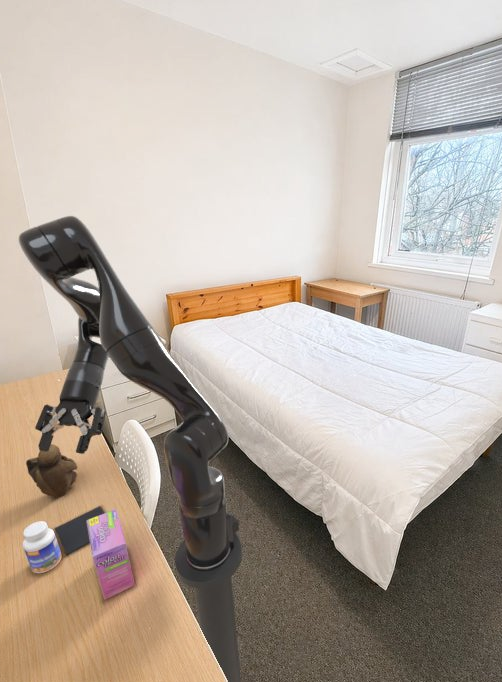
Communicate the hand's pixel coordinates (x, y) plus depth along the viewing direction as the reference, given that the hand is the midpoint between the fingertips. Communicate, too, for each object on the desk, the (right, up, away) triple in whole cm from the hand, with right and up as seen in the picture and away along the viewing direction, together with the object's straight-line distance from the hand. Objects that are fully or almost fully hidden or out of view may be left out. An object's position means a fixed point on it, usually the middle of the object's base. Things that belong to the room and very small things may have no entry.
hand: (61, 452), depth 78 cm
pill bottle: (-1, -23, -3) cm, 23 cm away
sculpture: (-12, -15, +16) cm, 25 cm away
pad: (+2, -20, +5) cm, 20 cm away
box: (+15, -24, -5) cm, 29 cm away
